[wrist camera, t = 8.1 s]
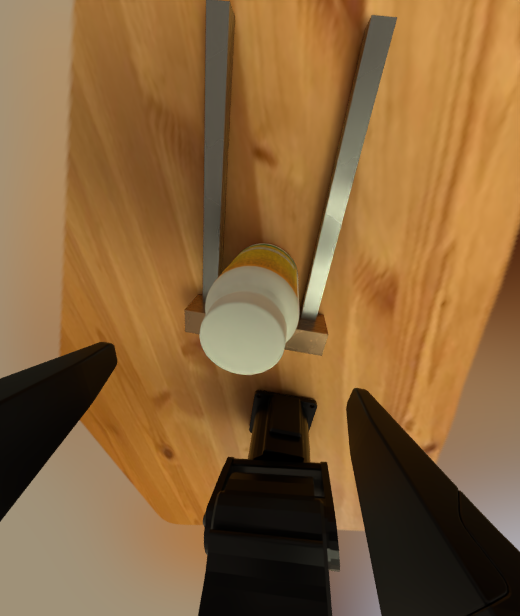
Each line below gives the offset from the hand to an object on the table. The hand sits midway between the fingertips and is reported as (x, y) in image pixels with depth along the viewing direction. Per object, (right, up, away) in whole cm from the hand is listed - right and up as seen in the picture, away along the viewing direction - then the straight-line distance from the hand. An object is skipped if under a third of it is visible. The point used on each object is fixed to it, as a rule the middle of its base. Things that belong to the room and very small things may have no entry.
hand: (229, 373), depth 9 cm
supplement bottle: (+2, +5, +11) cm, 12 cm away
